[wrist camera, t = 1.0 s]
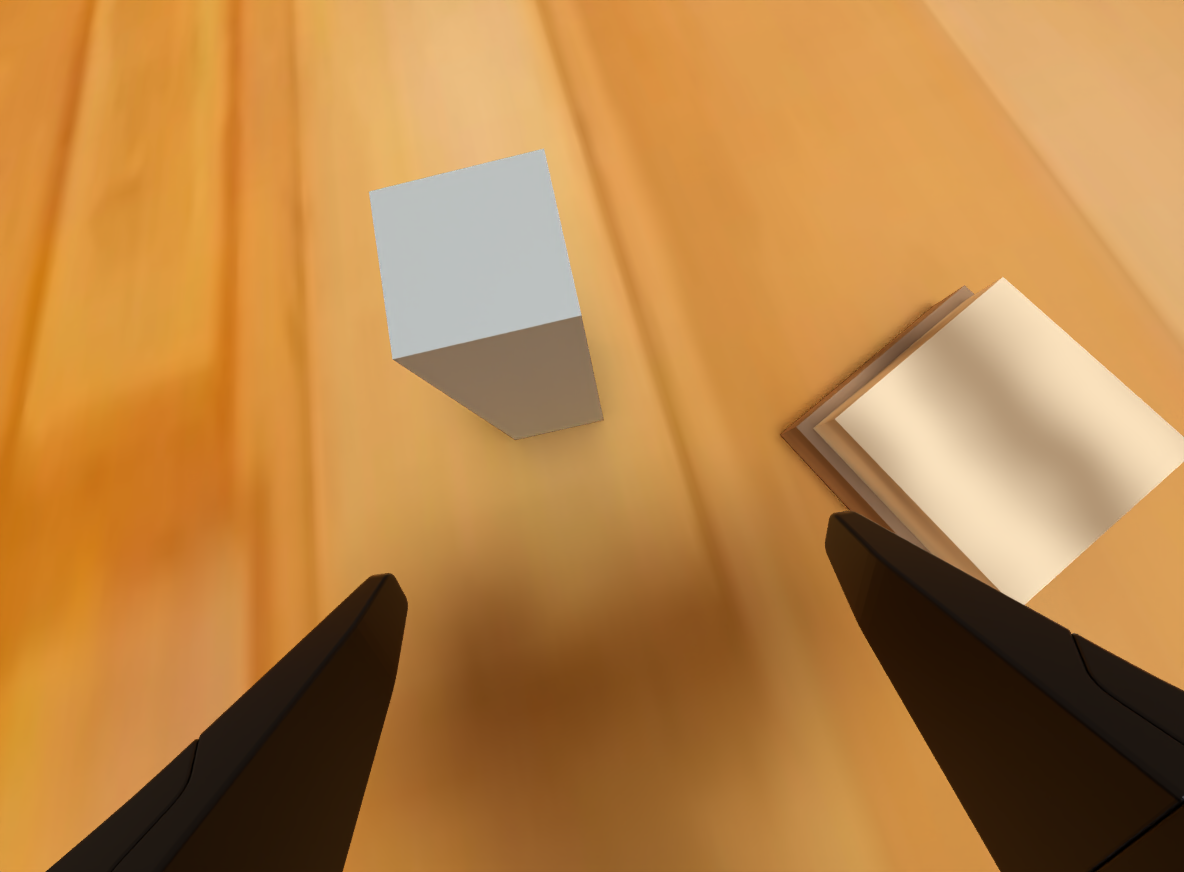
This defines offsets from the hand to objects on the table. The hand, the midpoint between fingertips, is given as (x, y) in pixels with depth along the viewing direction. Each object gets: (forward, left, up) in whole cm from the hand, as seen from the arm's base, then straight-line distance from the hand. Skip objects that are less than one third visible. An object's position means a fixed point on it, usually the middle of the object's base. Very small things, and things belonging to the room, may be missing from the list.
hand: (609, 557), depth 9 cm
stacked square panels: (+14, -6, -12) cm, 20 cm away
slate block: (+2, +8, -12) cm, 14 cm away
